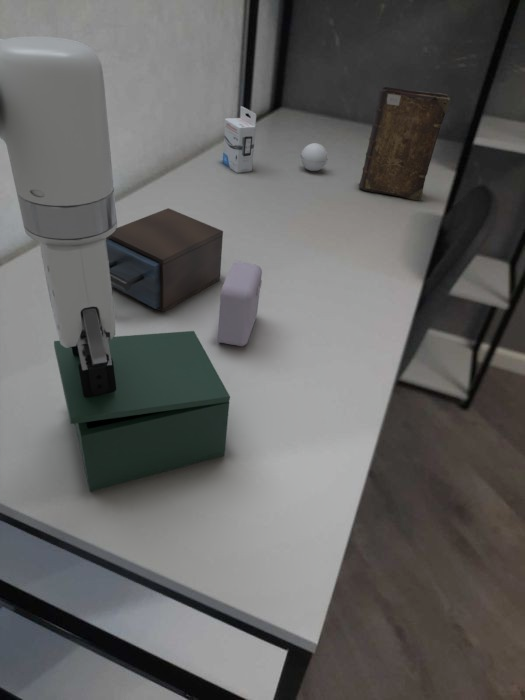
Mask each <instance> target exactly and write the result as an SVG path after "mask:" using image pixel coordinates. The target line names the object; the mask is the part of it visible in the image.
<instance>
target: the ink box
mask: <svg viewBox="0 0 525 700" xmlns="http://www.w3.org/2000/svg"><path fill="white" fill-rule="evenodd" d="M239 108H240V109H239V110H240V112H239V117H232V118H231V117H230V118H229V117H228V118H224V133H223V148H222V149H223V151H222V163H223V164H224V165H225V166H227V167H228V168H230V170H232V171H234V172H235V173H236V174H240V173H249V172H253V163H254V162H253V161H254V151H255V141H256V139H255V138H256V128H257V127H256V125H257V113H255V112H253V111H252V110H250V109H248V108H246V107H244V106H242V105H240V107H239ZM247 115H248V116H247ZM249 116H250V117H249Z"/></svg>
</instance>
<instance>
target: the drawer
mask: <svg viewBox="0 0 525 700" xmlns="http://www.w3.org/2000/svg"><path fill="white" fill-rule="evenodd" d="M106 245H107V253H108V260H109V269H110V277H111V286H112V287H113V288H115V289H117V290H118V291H120V292H122V293H124V294H126V295H127V296H130V297H132V298H134V299H135V300H137V301H139V302H141V303H143V304H144V305H146V306H148V307H150V308H153V309H154V310H158V309H157V308H159V307H160V306H161V296H160V264H159V262H157V261H155V260H153V259H151V258H149V257H147V256H145V255H142V254H140V253H138V252H136V251H134V250H132V249H130V248H128V247H126V246H124V245H122V244H120V243H115V242H113V241H111V240H109V239H107V240H106Z"/></svg>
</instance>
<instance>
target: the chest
mask: <svg viewBox="0 0 525 700" xmlns="http://www.w3.org/2000/svg"><path fill="white" fill-rule="evenodd" d="M229 410H230V401H229V402H225V403H218V404H211V405H204V406H196V407H189V408H182V409H175V410H168V411H161V412H154V413H147V414H140V415H133V416H126V417H119V418H111V419H104V420H97V421H90V422H83V423H76V424H74V427H75V431H76V436H77V440H78V446H79V449H80V450H79V451H80V454H81V458H82V464H83V468H84V472H85V477H86V481H87V486H88V490H89V491H88V492H93V491H96V490H101V489H104V488H109V487H111V486H117V485H119V484H123V483H127V482H131V481H134V480H138V479H143V478H146V477H149V476H153V475H157V474H160V473H164V472H168V471H172V470H175V469H180V468H184V467H186V466H189V465H194V464H197V463H201V462H205V461H209V460H212V459H217V458H220V457H223V456H226V455H225V454H226V443H227V432H228V423H229V422H228V421H229V412H230V411H229Z"/></svg>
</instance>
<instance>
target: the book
mask: <svg viewBox="0 0 525 700" xmlns="http://www.w3.org/2000/svg"><path fill="white" fill-rule="evenodd" d="M450 100H451V98H450V97H449V96H448V94H446V93H441V92H427V91H419V90H412V89H411V90H410V89H401V88H398V87H397V88H396V87H389V86H383V87H381V88H380V89H379V94H378V99H377V105H376V106H375V112H374V118H373V122H372V125H371V126H372V127H371V132H370V136H369V138H368V145H367V151H366V153H365V159H364V163H363V167H362V173H361V177H360V182H359V184H358V187H359V188H360V189H361V190H363V191H366V192H371V193H378V194H383V195H390V196H395V197H400V198H405V199H409V200H414V201H421V199H422V197H423V192H424V188H425V183H426V177H427V175H428V171H429V168H430V164H431V161H432V158H433V154H434V150H435V148H436V143H437V140H438V137H439V134H440V131H441V126H442V124H443V122H444V119H445V116H446V114H447V110H448V107H449V104H450Z"/></svg>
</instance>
